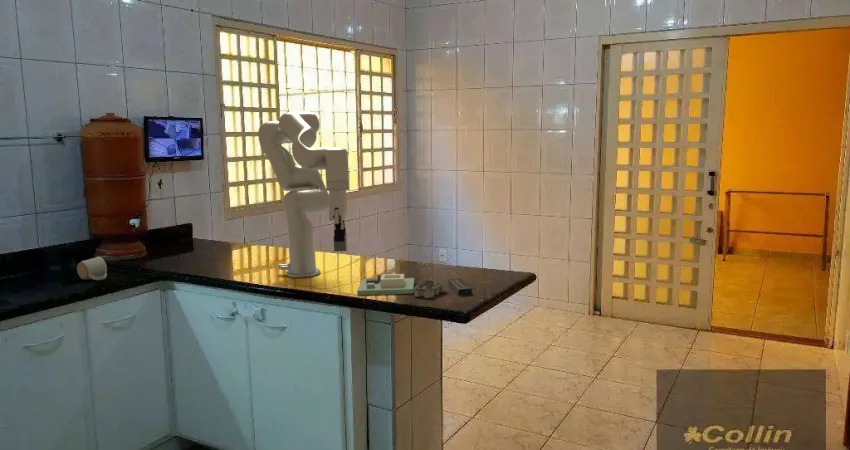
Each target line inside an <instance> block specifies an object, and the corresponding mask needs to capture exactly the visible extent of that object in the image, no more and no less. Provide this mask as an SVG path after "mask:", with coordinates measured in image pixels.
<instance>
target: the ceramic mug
mask: <svg viewBox="0 0 850 450" xmlns="http://www.w3.org/2000/svg"><path fill="white" fill-rule="evenodd" d="M76 271H77V275H78V276H79V278H80V279H82V280H85V281H86V280H87V281H88V280H95V281H102V280H105V279H106V278H107V275H108V274H107V272H108V266H107V263H106V261H105V260H104V258H103V257H102V256H96V257H93V258H89V259H85V260H81V261H80V262H78V264H77V266H76Z"/></svg>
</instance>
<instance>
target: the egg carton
mask: <svg viewBox="0 0 850 450" xmlns="http://www.w3.org/2000/svg"><path fill="white" fill-rule="evenodd" d="M445 283H446V282H442V281H441V283H440V282H439V281H437V282H436V283H434V280H433V279H429V277H426V278H423V280H422V281H421V282H420V283H419V284H418V285H416V286H414V288H413V290H414V291H413V296H414V297H417V298H419V297H423V298H424V299H425V298H426V299H428V298H434V295H435V296H437V295H440V294H439V293H444V284H445Z"/></svg>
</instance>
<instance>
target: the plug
mask: <svg viewBox="0 0 850 450" xmlns="http://www.w3.org/2000/svg"><path fill="white" fill-rule="evenodd" d="M343 229H344V223H343ZM332 239H334V236H333V238H332ZM346 251H348V235H347V234H346V235H344V241H343V242H335V241H334V240H333V252H346Z"/></svg>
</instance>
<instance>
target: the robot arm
mask: <svg viewBox="0 0 850 450" xmlns="http://www.w3.org/2000/svg"><path fill="white" fill-rule="evenodd" d="M278 119H279V120H271V121H266V122H264V123H262V124H260V126H259V128H258V133H257V134H258V135H257V136H258V143H259V145H260V148H261V150H262V151H263V154H264V155H265V157H266V158H267V159H268V161H269V162H270V165H271V167H272V170H273V173H274V175H275V178H276V180H277V182H278V185H279V186H280V188H281V189H282V191H286V192H287V193H285V194H284V195H283V198H282V206H283V207H282V208H283V211H284V215H285V219H286V220H285V221H286V227H287V228H286V229H287V230H286V231H287V242H288V244H287V245H288V257H289V262H288V263H285V264H284V263H279V264H278V269H279V270H280V271H283V270H284V271H285V270H287V271H286V274H285V275H286V277H288V278H295V279H296V278H297V279H298V278H310V277H315V276H317V275H320V273H321V269H320V268H318V267H317V264H316V263H317V262H316V248H315V246H316V244H315V233H314V225H313V223H312V221H311V220H310V219H309V218H308V216H309V215H317V214H323V213H326V212H327V211H328V220H329V221H330V222H331V221H333V237H334V238H333V242H334V241H335V242H343V241H344V235H347V232H346V230H347V228H346V220H345V219H346V218H347V216H348V204H347V199H348V198H347V191H349V190H350V180H349V179H350V176H349V153H348V150H347V149H346V148H344V147H343V148H342V147H335V146H325V147H324V146H319V147H318V146H317V147H313V146H314V145H315V143H316V141H317V133H318V131H319V130H320V120H319V118H318V117H317V115H316V114H315V113H314V112H312V111H289V112H285V113H283V114H282V115H281V116H280V117H279V118H278ZM281 144H291V152H290V151H289V150H288V149H287V148H286V147H285V146H283V145H281ZM291 153H292V154H291ZM323 170H325V183H324V180H323V178H322V176H321V173H320V171H323ZM343 223H344V229H343Z"/></svg>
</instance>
